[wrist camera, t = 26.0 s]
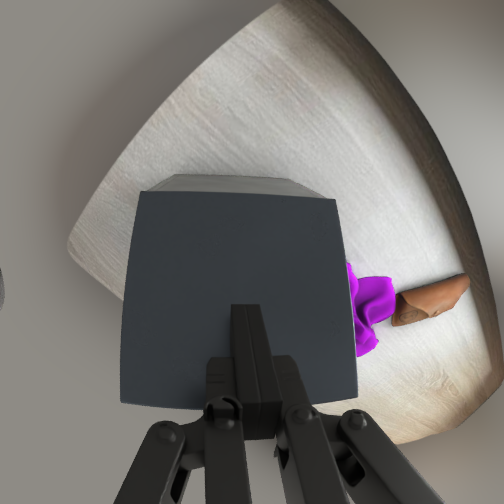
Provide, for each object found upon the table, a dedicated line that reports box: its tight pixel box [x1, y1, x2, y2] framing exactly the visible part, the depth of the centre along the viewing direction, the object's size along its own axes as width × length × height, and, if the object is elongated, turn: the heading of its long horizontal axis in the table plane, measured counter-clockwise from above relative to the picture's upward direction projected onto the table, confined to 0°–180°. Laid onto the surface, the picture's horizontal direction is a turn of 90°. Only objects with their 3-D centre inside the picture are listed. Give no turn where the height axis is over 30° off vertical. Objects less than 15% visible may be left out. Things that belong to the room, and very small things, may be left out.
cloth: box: [346, 262, 396, 357], centre depth 42 cm, size 22×19×6 cm
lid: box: [120, 191, 358, 410], centre depth 17 cm, size 14×15×1 cm
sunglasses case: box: [392, 273, 470, 326], centre depth 44 cm, size 18×7×7 cm
